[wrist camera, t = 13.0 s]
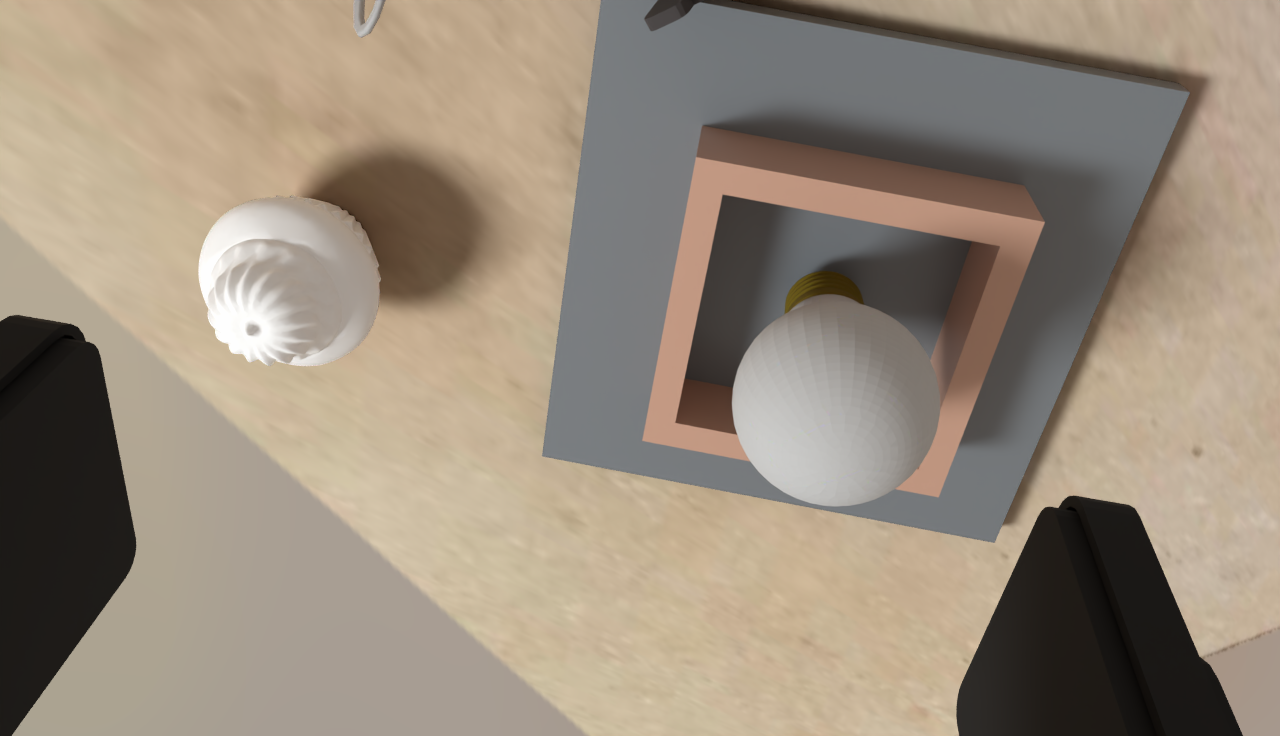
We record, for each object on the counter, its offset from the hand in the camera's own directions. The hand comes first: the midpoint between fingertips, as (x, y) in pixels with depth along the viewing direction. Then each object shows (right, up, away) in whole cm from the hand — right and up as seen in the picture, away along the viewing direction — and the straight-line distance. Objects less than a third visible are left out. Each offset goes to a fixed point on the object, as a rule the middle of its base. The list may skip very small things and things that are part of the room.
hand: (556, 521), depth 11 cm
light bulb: (+7, +4, +26) cm, 27 cm away
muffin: (-11, +6, +28) cm, 31 cm away
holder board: (+7, +4, +27) cm, 28 cm away
